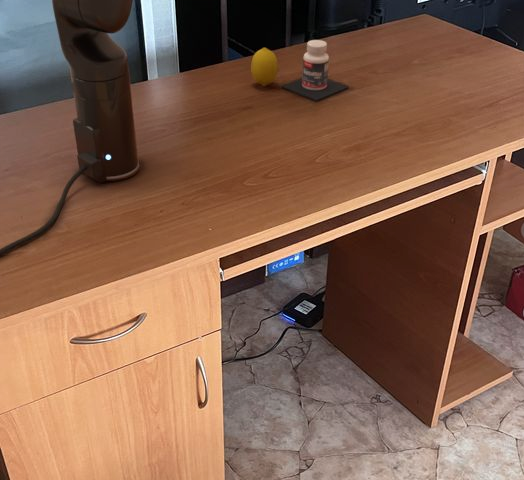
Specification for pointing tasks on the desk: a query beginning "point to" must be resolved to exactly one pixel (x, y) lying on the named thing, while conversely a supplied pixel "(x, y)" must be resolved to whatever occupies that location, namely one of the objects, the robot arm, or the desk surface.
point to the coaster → (312, 94)
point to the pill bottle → (315, 66)
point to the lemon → (264, 66)
